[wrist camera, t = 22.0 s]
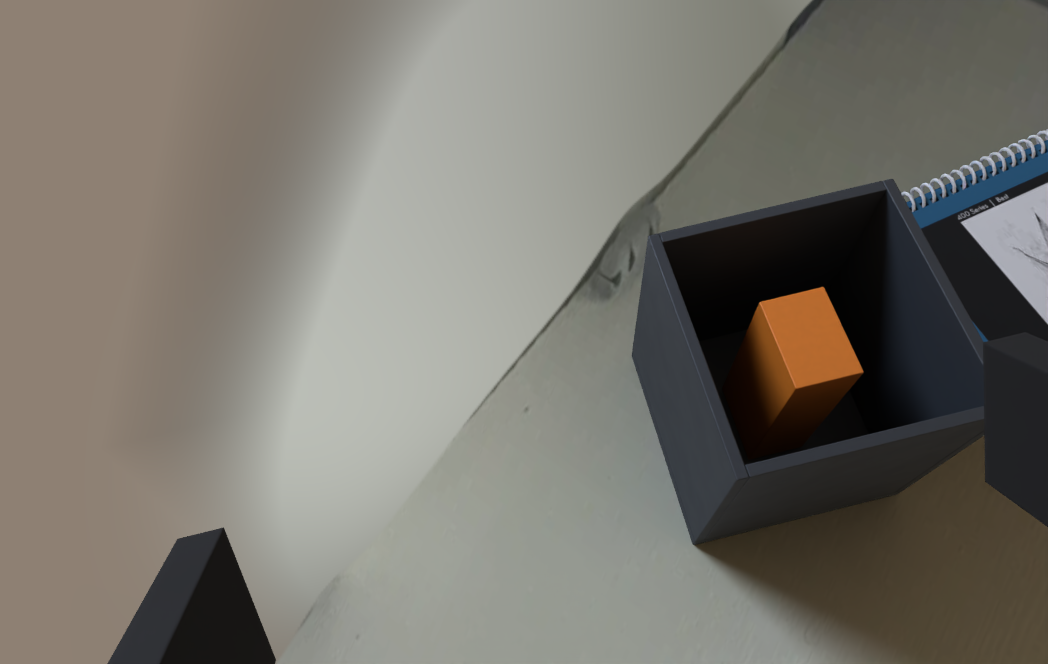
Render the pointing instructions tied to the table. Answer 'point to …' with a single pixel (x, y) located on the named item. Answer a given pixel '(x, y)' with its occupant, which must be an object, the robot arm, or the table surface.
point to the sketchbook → (994, 238)
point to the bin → (872, 329)
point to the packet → (789, 372)
